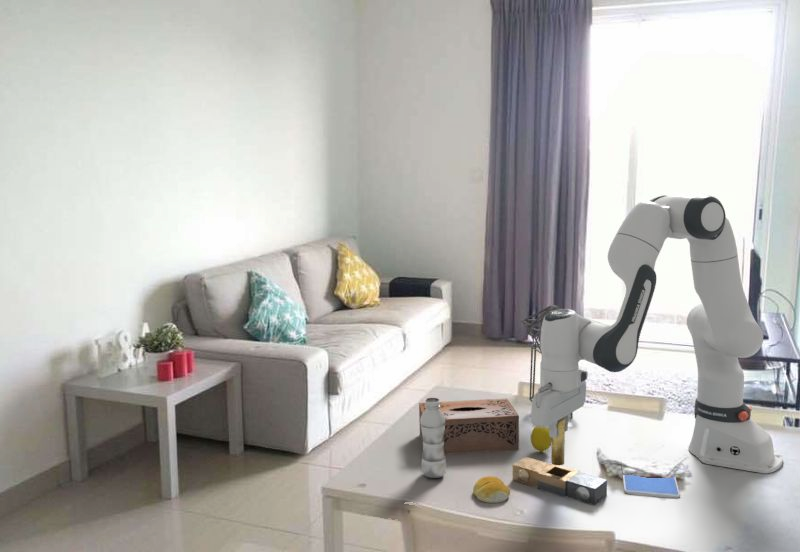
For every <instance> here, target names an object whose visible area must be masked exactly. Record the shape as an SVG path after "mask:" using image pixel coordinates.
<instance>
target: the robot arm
mask: <svg viewBox="0 0 800 552" xmlns="http://www.w3.org/2000/svg"><path fill="white" fill-rule="evenodd" d="M668 238H669V239H675V240H677V239H678V240H684V239H686V240H687V241H688V243H689V256H690V264H691V271H692V280H693V287H694V291H695V292H696V294H697V296H698V297H699V299H700V301H701V304H698V305H695V306H694V307H692V308H691V310H690V311H689V313H687V316H686V317H687V318H686V327H687V329H688V330H689V333H690V335H691V339H692V345H693V349H694V354H695V359H696V365H697V389H696V390H697V393H696V394H697V395H696V398H695V402H694V411H693V413H694V419H695V421H694V426H693V427H694V428H693V433H692V436H691V440H690V443H689V445H688V451H689V452H690V453H691V454H692V455H694V456H695V457H697V458H698V459H699V460H700V461H701V463H703V464H707V465H713V466H719V467H725V468H729V469H737V470H742V471H747V472H754V473H759V474H770V473H773V472H775V471H777V470H779V469H780V468H781V467H782V466H783V463H784V459H783V455H782V454H781V453H780V452H778V451H775V450H774V443H773V439H772V436H771V434H770V433H768V432H767V431H766V430H764V429H763V428H762V427H761V426H760V425H758V423H756V422H755V421H754V420H753V419H751V416H752V415H751V414H752V413H751V412H752V409H753V406H752V405H750V406H747V404H745V403H744V385H745V383H744V382H745V373H744V371H743V368H742V366H741V363H740V361H739V358H740V359H746V358H750V357H752V356H754V355H755V354H757V353H758V352H759V350H760V349H761V348H762V345H763V344H764V343H763V342H764V333H763V330H762V328H761V327H760V325H759V324H758V323H757V321H756V318H754V315H753V312H752V310H751V307H750V305H749V301H748V300H747V296H746V294H745V291H744V288H743V283H742V279H741V272H740V271H741V270H740V263H739V256H738V254H739V253H738V248H737V244H736V243H737V242H736V238H735V234H734V230H733V228H732V225H731V223H730V220H729V219H728V218H727V215H726V211H725V207H724V205H723V204H722V202H721V201H720V200H719V198H716V197H715V196H712V195H709V194H703V193H701V194H695V193H679V194H672V195H660V196H656V197H654V198H652V199H650V200H648V201H646V200H645V201H641V202H638V203H637V204H636V205H634V207H633V208H632V209H631V210H630V212H629V213H628V214H627V216H626V217H625V219H624V220H623V221H622V223H621V225H620V227H619V228H618V230H617V231H616V234H615V236H614V238H613V240H612V241H611V244H610V245H609V249H608V252H607V261H608V264H609V267H610V270H611V271H612V272H613V273H614V274H615V275H616V276H617V277H618V278H619V279H620V280H621V281H623V283H624V285H625V296H624V299H623V301H622V304H621V306H620V310H619V313H618V315H617V317H616V321H615V322H614V323H613V324H611V325H609V324H605V323H602V322H600V321H597V320H593V319H590V318H587V317H585V316H582V315H580V314H578V313H577V312H576V311H575V310H573V309H570V308H561V309H557V310H553V311H551V312H549V313H547V314H546V315H545V317H544V319H543V321H542V328H541V332H540V343H539V344H540V345H539V346H540V348H541V352H542V354H541V361H540V365H539V369H540V371H539V373H540V374H539V375H540V376H539V385H540V387H538V389H537V392H536V393H534V397H533V399H532V400H533V401H532V402H531V411H530V413H531V414H530V421H531V422H530V423H531V424H532V425H533V426H534V427H536V426H537V427H541V428H546V427H547V428H548V429H549V436H550V437H551V438H556V437H558V436H559V434H558V433H559V430H558V429H557V428H556V425H557V421H558V420H560V419H561V418H564V419H565V433H566V432H567V431H568V427H569V423H570V420H571V419H570V418H571V413H572V412H575V411H577V410H579V409H580V408H582V407H583V406H584V405H585V404H586V399H587V397H586V395H587V380H588V374H589V373H588V371H587V370H584V369H580V368H579V362H580V361H581V360H584V361H587V362H589V363H591V364H594V365H597V366H598V367H600V368H602V369H604V370H606V371H607V372H610V373H620V372H623V371H624V370H626V369H627V368H629V366H631V365H632V363H633V362H634V361H635V359H636V357H637V354H638V349H639V342H640V341H639V340H640V336H641V333H642V331H643V327H644V324H645V322H646V318H647V315H648V312H649V310H650V309H649V308H650V305H651V303H652V299H653V297H654V293H655V289H656V286H657V273H656V271H655V266H656V261H657V260H658V257H659V255H660V252H661V250H662V248H663V246H664V243H665V241H666V240H667V239H668ZM541 386H542V387H541Z"/></svg>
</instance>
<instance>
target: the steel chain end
mask: <svg viewBox="0 0 800 552" xmlns="http://www.w3.org/2000/svg"><path fill="white" fill-rule="evenodd" d="M555 476H559V475H556V474H555ZM559 477H562V476H559ZM537 489H538V490H540V491H541V490H542V491H544V492H548V493H551V494H553V495H557V496H559V497H564V498H571V499H574V500H576V501H579V502H584V503H586V504H590V505H592V506H596V505H597V504H598V503H600V502H601V501H603V500H604V499H605V498H606V497H607V496H608V495H607V494H608V479H605V478H601V477H599V476H595V475H592V474H588V473H584V472H581V471H580V472H577V473H576V474H575V475H573V476H572V477H571V478H569V479H568V480H566V489H563V488H560V487H556V486H553V485H550V484H547V483H543V482H540V481H538V487H537Z"/></svg>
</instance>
